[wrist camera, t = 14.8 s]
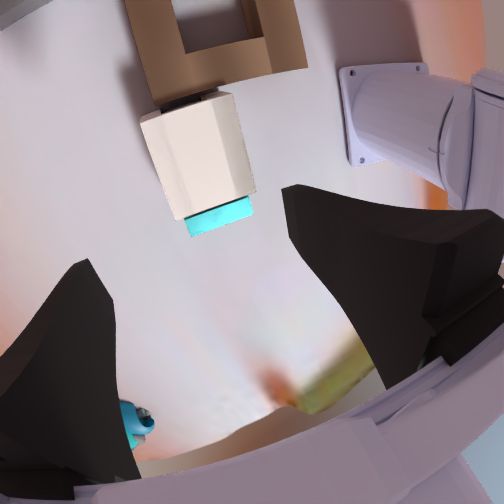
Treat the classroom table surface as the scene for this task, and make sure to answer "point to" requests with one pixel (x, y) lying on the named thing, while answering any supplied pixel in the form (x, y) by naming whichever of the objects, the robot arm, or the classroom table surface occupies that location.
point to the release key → (217, 211)
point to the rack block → (17, 10)
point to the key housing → (199, 154)
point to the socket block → (214, 48)
